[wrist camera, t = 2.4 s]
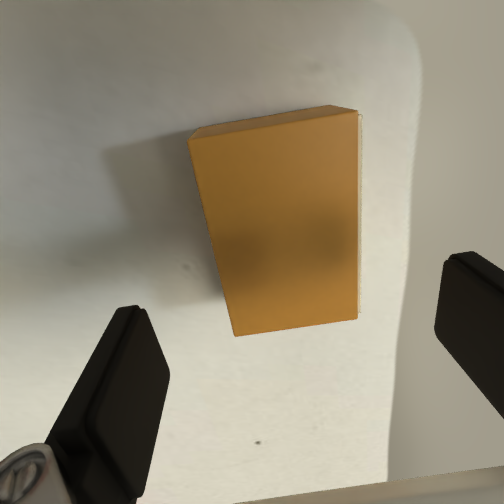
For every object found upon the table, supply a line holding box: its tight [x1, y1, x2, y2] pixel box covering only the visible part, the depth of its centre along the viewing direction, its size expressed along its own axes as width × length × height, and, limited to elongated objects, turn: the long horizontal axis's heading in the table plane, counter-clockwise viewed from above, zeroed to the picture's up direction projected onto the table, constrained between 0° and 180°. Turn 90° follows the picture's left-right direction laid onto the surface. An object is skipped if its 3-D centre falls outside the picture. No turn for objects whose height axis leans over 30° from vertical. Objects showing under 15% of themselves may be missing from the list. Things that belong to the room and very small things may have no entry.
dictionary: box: [187, 105, 362, 337], centre depth 16 cm, size 10×7×4 cm
